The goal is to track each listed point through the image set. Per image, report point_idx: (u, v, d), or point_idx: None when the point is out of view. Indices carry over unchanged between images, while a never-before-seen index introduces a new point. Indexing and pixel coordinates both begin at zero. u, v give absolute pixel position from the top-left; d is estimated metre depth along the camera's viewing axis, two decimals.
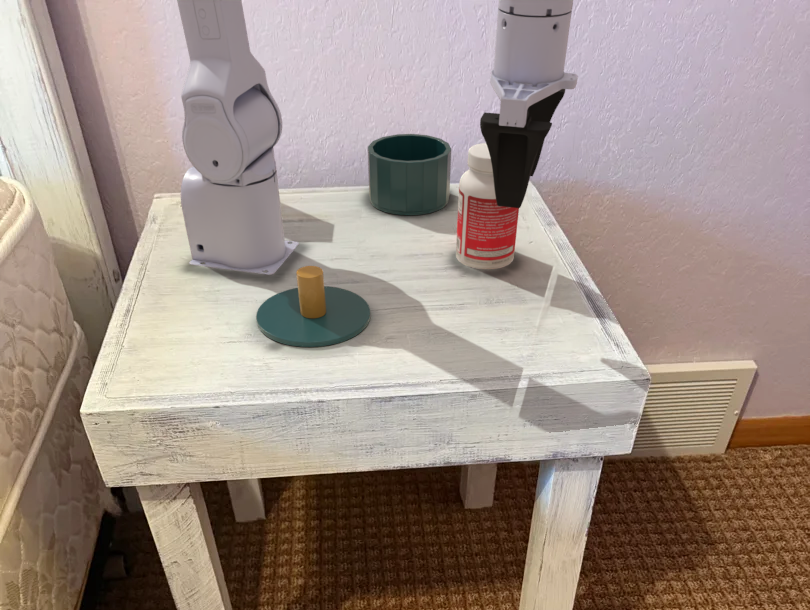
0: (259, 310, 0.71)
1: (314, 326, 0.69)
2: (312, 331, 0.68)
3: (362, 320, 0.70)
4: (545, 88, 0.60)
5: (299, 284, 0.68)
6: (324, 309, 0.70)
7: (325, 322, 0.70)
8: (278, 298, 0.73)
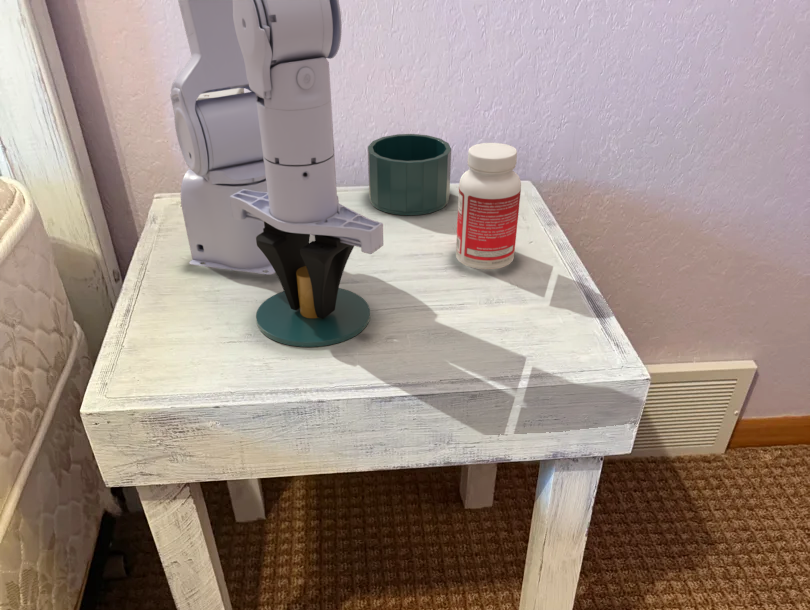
0: (259, 310, 0.71)
1: (313, 326, 0.69)
2: (312, 331, 0.68)
3: (362, 320, 0.70)
4: (352, 210, 0.64)
5: (299, 283, 0.68)
6: None
7: (325, 322, 0.70)
8: (278, 298, 0.73)
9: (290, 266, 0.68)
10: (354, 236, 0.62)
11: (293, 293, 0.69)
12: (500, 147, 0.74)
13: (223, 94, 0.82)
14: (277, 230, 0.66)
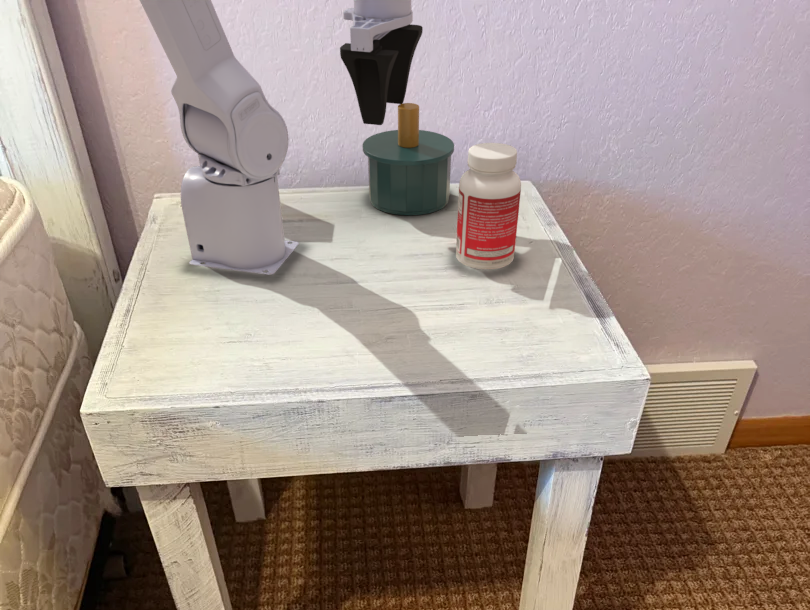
0: (416, 160, 0.84)
1: (428, 141, 0.88)
2: (436, 141, 0.88)
3: None
4: None
5: (417, 115, 0.85)
6: None
7: (420, 139, 0.89)
8: (393, 157, 0.85)
9: None
10: None
11: None
12: (500, 147, 0.74)
13: None
14: (376, 47, 0.75)
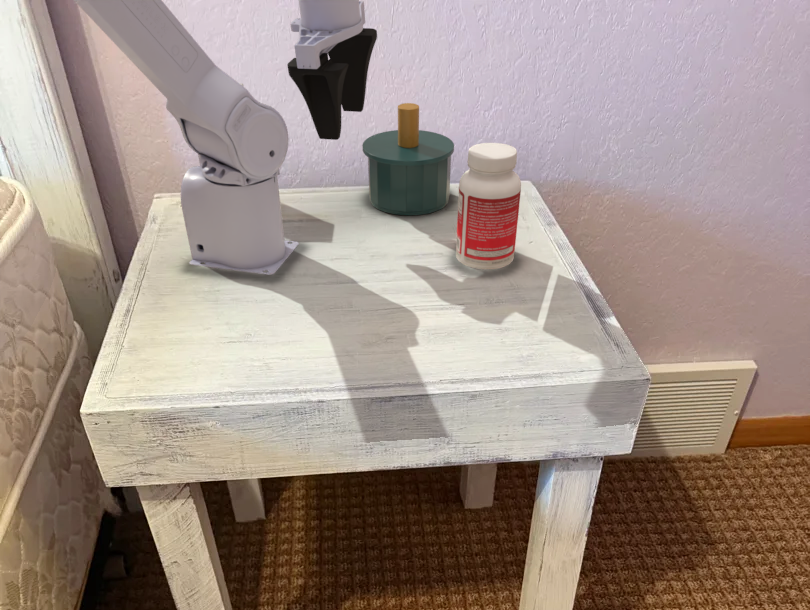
0: (416, 160, 0.84)
1: (428, 142, 0.88)
2: (436, 141, 0.88)
3: None
4: None
5: (417, 115, 0.85)
6: None
7: (420, 139, 0.89)
8: (393, 157, 0.85)
9: None
10: (361, 12, 0.77)
11: None
12: (500, 147, 0.74)
13: None
14: (325, 61, 0.72)
